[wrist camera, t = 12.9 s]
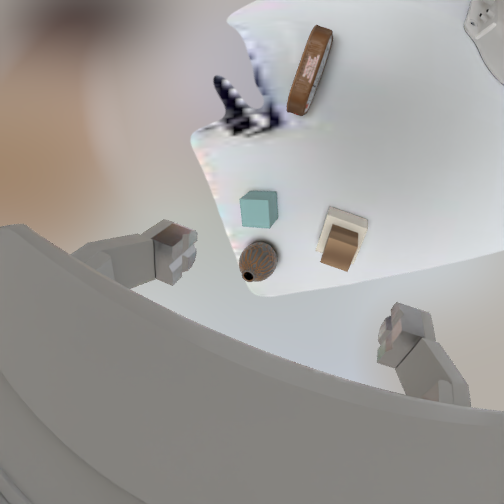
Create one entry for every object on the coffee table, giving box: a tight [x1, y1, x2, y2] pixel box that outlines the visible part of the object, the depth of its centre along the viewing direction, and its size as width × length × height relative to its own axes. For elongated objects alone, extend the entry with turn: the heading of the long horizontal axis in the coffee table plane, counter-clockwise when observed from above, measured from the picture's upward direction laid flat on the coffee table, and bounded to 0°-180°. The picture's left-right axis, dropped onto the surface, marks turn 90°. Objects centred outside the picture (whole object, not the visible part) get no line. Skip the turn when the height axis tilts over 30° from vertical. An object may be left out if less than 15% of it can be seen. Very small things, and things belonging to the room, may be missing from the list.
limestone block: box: [316, 207, 368, 264], centre depth 45 cm, size 7×7×4 cm
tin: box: [287, 25, 333, 116], centre depth 32 cm, size 15×3×8 cm, turn 162°
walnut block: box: [320, 224, 358, 272], centre depth 42 cm, size 4×4×5 cm
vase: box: [239, 242, 277, 282], centre depth 52 cm, size 7×7×9 cm
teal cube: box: [240, 191, 278, 228], centre depth 48 cm, size 5×5×5 cm
